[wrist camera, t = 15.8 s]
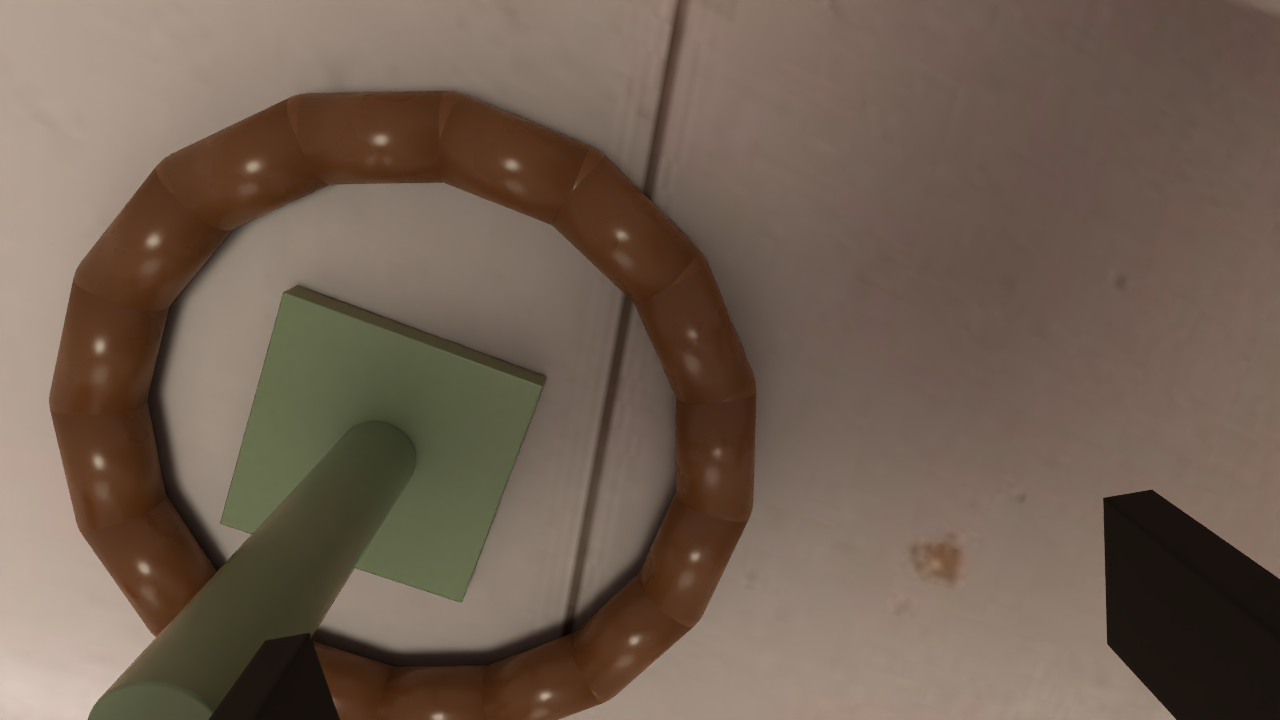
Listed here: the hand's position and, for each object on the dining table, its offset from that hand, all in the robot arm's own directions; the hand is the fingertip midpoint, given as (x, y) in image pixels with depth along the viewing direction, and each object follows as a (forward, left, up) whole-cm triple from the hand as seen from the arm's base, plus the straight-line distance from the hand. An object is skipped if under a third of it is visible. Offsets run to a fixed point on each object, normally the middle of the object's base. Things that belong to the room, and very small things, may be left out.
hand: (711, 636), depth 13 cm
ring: (+4, -7, -11) cm, 14 cm away
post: (+5, -8, -13) cm, 16 cm away
